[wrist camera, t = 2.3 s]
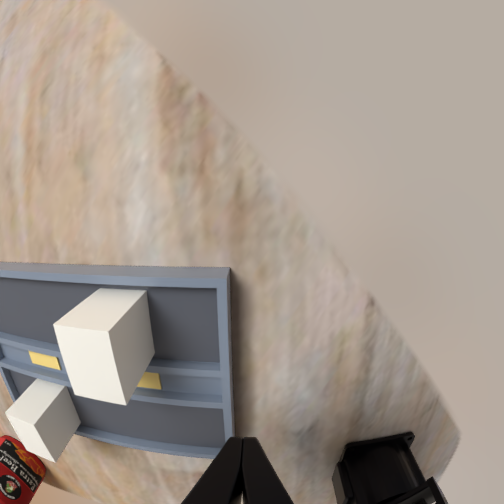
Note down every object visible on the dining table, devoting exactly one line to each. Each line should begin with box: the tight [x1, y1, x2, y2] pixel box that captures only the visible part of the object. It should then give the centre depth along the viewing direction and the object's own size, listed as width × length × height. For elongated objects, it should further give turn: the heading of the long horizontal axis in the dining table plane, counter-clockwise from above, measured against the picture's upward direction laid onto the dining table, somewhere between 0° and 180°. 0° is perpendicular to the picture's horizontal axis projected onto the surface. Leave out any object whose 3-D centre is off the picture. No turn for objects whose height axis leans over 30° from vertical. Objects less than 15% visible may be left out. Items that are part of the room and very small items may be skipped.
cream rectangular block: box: [53, 288, 155, 405], centre depth 14 cm, size 3×4×5 cm
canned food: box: [0, 435, 46, 504], centre depth 18 cm, size 8×8×11 cm
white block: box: [5, 378, 81, 463], centre depth 16 cm, size 3×4×5 cm
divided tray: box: [0, 262, 235, 459], centre depth 18 cm, size 20×14×2 cm
